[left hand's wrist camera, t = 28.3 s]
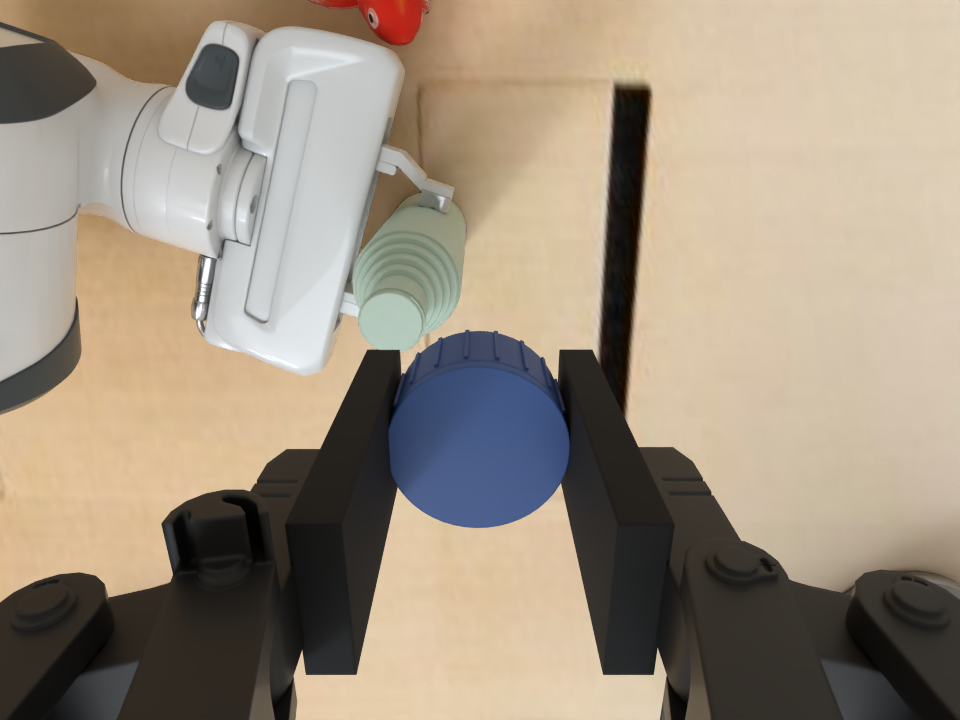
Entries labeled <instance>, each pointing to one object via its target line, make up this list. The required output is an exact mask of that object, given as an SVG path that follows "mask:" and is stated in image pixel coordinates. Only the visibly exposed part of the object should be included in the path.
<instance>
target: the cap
mask: <svg viewBox="0 0 960 720" xmlns="http://www.w3.org/2000/svg"><path fill="white" fill-rule="evenodd" d="M392 407H394V410H393V413H392V417H391V420H390V423H389V427H388V434H389V450H390V466H391V474H392V477H393V479H394V481H395V483H396V484H397V486H398V488H399V489H400V490H401V492H402V493H403V494H404V495H405V497H406V498H407V499H408V500H409V501H410V502H411V503H412V504H413V505H415V506H416V507H417V508H419V509H420V510H421V511H423V512H424V513H426V514H428V515H429V516H431V517H433V518H435V519H438V520H440V521H442V522H445V523H449V524H452V525H457V526H462V527H471V528H487V527H494V526H500V525H504V524H508V523H511V522H514V521H516V520H519V519H521V518H523V517H525V516H527V515H529V514H531V513H532V512H534V511H535V510H536V509H538V508H539V507H540V506H542V505H543V504H544V503H545V502H546V501H547V500H548V499H549V498H550V497H551V496H552V495H553V493H554V492H555V491H556V489H557V488H558V486H559V485H560V483H561V481H562V479H563V477H564V475H565V473H566V470H567V467H568V463H569V457H570V436H569V431H568V427H567V423H566V420H565V416H564V413H566V409H565V406H564V402H563V399H562V395H561V392H560V388H559V385H558V382H557V379H553V376H552V374H551V372H550V370H549V369H548V367H547V366H546V363H545V359H544V358H543V357H541V358H540V357H539V356H538V355H537V354H536V353H535V352H534V351H533V350H532V349H530V348H529V347H527V346H526V345H524V341H522V340H521V341H520V342H519V341H518V340H516V339H513V338H511V337H508V336H505V335H502V334H498V331H494V333H493V332H488V331H487V332H485V331H472V332H469V330H465V332H464V333H458V334H454V335H451V336H448V337H446V338H443V339H442V337H441V338H439V339H438V341H437V342H435V343H434V344H432V345H430V346H429V347H428V348H426V349H425V350H424V351H423V352H421V353H419V352H418V353H417V354H416V357H415V360H414V361H413V362H412V364H411V365H410V366H409V368H408V370H407V371H406V373H405V374H404V373H402V376H401V379H400V382H399V385H398V389H397V392H396V395H395V399H394V402H393V405H392Z"/></svg>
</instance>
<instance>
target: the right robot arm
mask: <svg viewBox="0 0 960 720" xmlns="http://www.w3.org/2000/svg"><path fill="white" fill-rule="evenodd" d="M404 77H405V68H404V66H403V65H402V63H401V61H400V59H399V57H398V56H397V54H396V53H395V52H394V51H393V50H391V49H389V48H386V47H384V46H381V45H378V44H375V43H372V42H369V41H365V40H362V39H358V38H355V37H351V36H347V35H343V34H338V33H334V32H329V31H324V30H319V29H313V28H306V27H298V26H285V27H279V28H276V29H273V30H271V31H269V32H268V33H265V32H264V31H262V30H260V29H258V28H256V27H253V26H251V25H248V24H245V23H241V22H236V21H229V20H221V21H214V22H212V23H211V24H210V25H209V26H208V28H207V29H206V31H205V32H204V34H203V36H202V38H201V40H200V42H199V44H198V46H197V48H196V51H195V53H194V55H193V57H192V59H191V61H190V63H189V65H188V67H187V69H186V71H185V73H184V74H183V76H182V78H181V80H180V82H179V84H178V86H177V87H174V86H171V85H166V84H159V83H143V82H138V81H134V80H131V79H129V78H127V77H125V76H123V75H121V74H120V73H118V72H117V71H115V70H114V69H112V68H111V67H109V66H108V65H106V64H104V63H102V62H100V61H97V60H95V59H92V58H89V57H86V56H83V55H80V54H77V53H74V52H71V51H68V50H66V49H64V48H63V47H62V46H61V45H59V44H58V43H57V42H56V41H53V40H51V39H48V38H45V37H42V36H40V35H37V34H34V33H31V32H28V31H25V30H22V29H19V28H16V27H13V26H10V25H7V24H4V23H1V22H0V415H1V414H4V413H7V412H10V411H13V410H15V409H18V408H20V407H22V406H25V405H27V404H29V403H31V402H33V401H34V400H36V399H38V398H40V397H42V396H43V395H45V394H46V393H48V392H49V391H51V390H52V389H53V388H54V387H56V386H57V385H58V384H59V383H61V382H62V381H63V380H64V379H66V378H67V377H68V376H69V375H70V374H71V372H72V371H73V370H74V368H75V367H76V365H77V364H78V362H79V359H80V356H81V338H80V325H79V311H78V301H77V297H76V269H77V235H78V214H92V215H98V216H102V217H105V218H108V219H110V220H112V221H114V222H116V223H117V224H119V225H120V226H122V227H123V228H125V229H127V230H128V231H130V232H133V233H135V234H137V235H140V236H144V237H147V238H150V239H154V240H157V241H160V242H163V243H166V244H170V245H173V246H176V247H179V248H182V249H185V250H189V251H192V252H195V253H198V254H200V255H199V260H198V268H197V275H196V292H195V297H194V298H193V300H192V305H191V316H192V318H193V319H195V320H196V323H197V327H198V330H199V332H200V333H201V335H202V336H203V337H204V339H205V340H206V341H207V342H208V343H210V344H212V345H214V346H217V347H221V348H224V349H227V350H231V351H235V352H244V353H246V354H248V355H250V356H252V357H254V358H257V359H259V360H261V361H263V362H266V363H268V364H271V365H273V366H276V367H278V368H281V369H283V370H286V371H289V372H292V373H295V374H298V375H302V376H308V375H311V374H314V373H317V372H320V371H322V370H323V369H324V368H325V366H326V365H327V363H328V362H329V360H330V358H331V356H332V354H333V351H334V347H335V343H336V340H337V336H338V332H339V328H340V324H341V320H342V316H343V313H345V314H348V315H351V316H355V317H358V314H359V308H358V306H357V304H356V301H355V298H354V294H353V284H352V283H351V282H352V276H353V269H354V266H355V262H356V260H357V258H358V255H359V251H360V247H361V243H362V239H363V235H364V232H365V228H366V224H367V220H368V216H369V212H370V208H371V205H372V201H373V197H374V193H375V189H376V185H377V182H378V178H379V174H380V172H383V173H386V174H389V175H392V176H393V175H395V174H396V173H397V172H399V170H400V169H401V170H402V171H403V172H404V173H405V175H406V176H407V177H408V178H409V179H410V180H411V181H412V182H413V183H414V184H415V185H416V186H417V187H418V189H419V190H420V191H422V193H421V197H420V200H419V204H418V205H420V206H423V207H426V208H432V207H433V208H434V209H435V210H436V211H438V212H441V213H446V214H447V212H448V209H449V206H450V202H451V199H452V196H453V193H454V189H455V188H454V187H452V186H450V185H447V184H444V183H441V182H438V181H435V180H432V179H429V178H427V174H426V173H425V172H424V171H423V170H422V169H421V168H420V167H419V165H418V164H417V163H416V162H415V161H414V160H413V159H412V157H411V156H410V155H409V154H408V153H407V152H406V151H405V150H402V149H400V148H397V147H394V146H391V145H388V144H387V143H388V139H389V135H390V131H391V128H392V124H393V120H394V116H395V112H396V108H397V104H398V101H399V97H400V93H401V89H402V85H403V81H404ZM205 320H206V326H205V327H204V324H203V321H205Z"/></svg>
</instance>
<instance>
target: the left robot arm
mask: <svg viewBox="0 0 960 720" xmlns="http://www.w3.org/2000/svg"><path fill="white" fill-rule="evenodd" d="M400 379H401V360H400V350H367V352H366V354H365V356H364V358H363V360H362V362H361V364H360V366H359V369H358V371H357V373H356V375H355V377H354V379H353V381H352V383H351V385H350V388H349V390H348V392H347V394H346V396H345V398H344V400H343V402H342V404H341V406H340V409H339V411H338V413H337V415H336V417H335V419H334V421H333V423H332V425H331V428H330V430H329V432H328V434H327V436H326V438H325V440H324V442H323V444H322V446H321V449H286V450H285V451H284V452H282V453H281V454H280V455H278V456H277V457H275V458H274V459H273V460H271V461H270V462H269V463H267V465H266V466H265V468H264V470H263V471H262V473H261V475H260V476H259V478H258V479H257V484H254V486H253V488H252V489H251V491H246V490H221V491H216V492H211V493H206V494H203V495H201V496H198V497H196V498H193V499H191V500H188V501H186V502H184V503H183V504H182V505H180V506H179V507H177V508H176V509H174V510H173V511H171V512H170V513H169V515H168V516H167V517H166V518H165V520H164V521H163V522H162V528H163V533H164V537H165V541H166V546H167V550H168V554H169V559H170V563H171V567H172V572H173V577H172V579H171V582H170V583H167V584H164V585H161V586H157V587H154V588H150V589H146V590H141V591H137V592H132V593H128V594H123V595H118V596H114V597H109V598H108V594H107V591H106V587H105V584H104V583H103V582H102V581H101V580H100V579H99V578H98V577H96V576H94V575H90V574H85V573H69V574H59V575H56V576H52V577H49V578H45V579H42V580H39V581H36V582H34V583H32V584H30V585H28V586H26V587H24V588H22V589H20V590H18V591H16V592H14V593H12V594H11V595H10V596H8V597H7V598H6V599H4V600H3V601H2V602H0V720H295V718H296V707H297V697H296V690H295V684H294V677H293V676H294V673H295V669H296V666H297V663H298V660H299V657H300V654H301V651H302V650H303V657H304V664H305V671H306V675H356V674H357V670H358V665H359V661H360V656H361V651H362V647H363V642H364V638H365V633H366V629H367V624H368V620H369V615H370V610H371V606H372V601H373V597H374V592H375V588H376V583H377V578H378V574H379V569H380V565H381V560H382V556H383V551H384V547H385V542H386V537H387V533H388V528H389V524H390V519H391V515H392V510H393V506H394V501H395V496H396V492H397V487H398V486H397V484H396V483H395V481H394V479H393V477H392V474H391V466H390V450H389V434H388V427H389V423H390V420H391V417H392V413H393V410H394V407H392V405H393V402H394V399H395V395H396V392H397V389H398V385H399V382H400ZM558 385H559V388H560V392H561V395H562V399H563V402H564V406H565V409H566V413H564V416H565V420H566V423H567V427H568V431H569V436H570V457H569V463H568V467H567V470H566V473H565V475H564V477H563V479H562V481H561V485H562V489H563V494H564V498H565V503H566V507H567V512H568V516H569V521H570V526H571V530H572V535H573V539H574V544H575V548H576V553H577V558H578V562H579V567H580V571H581V576H582V580H583V585H584V589H585V594H586V599H587V603H588V608H589V612H590V617H591V621H592V626H593V630H594V635H595V640H596V644H597V649H598V653H599V658H600V662H601V667H602V671H603V675H654V669H655V662H656V655H657V647H658V650H659V653H660V656H661V659H662V662H663V665H664V668H665V671H666V674H667V677H666V684H665V690H664V697H663V703H662V710H661V717H660V720H960V585H959V584H957V583H956V582H954V581H952V580H950V579H948V578H946V577H943V576H940V575H937V574H933V573H927V572H899V571H888V570H877V571H872V572H867V573H864V574H863V575H862V576H861V577H860V578H859V579H858V580H856V582H855V585H854V588H853V589H851V590H849V591H848V592H846V593H845V594H844V593H839V592H835V591H830V590H826V589H821V588H817V587H812V586H808V585H805V584H801V583H798V582H794V581H791V580H789V578H788V576H787V574H786V572H785V571H784V569H783V568H782V566H781V565H780V563H779V562H778V561H777V560H776V559H775V558H773V557H772V556H771V555H769V554H768V553H767V552H766V551H764V550H763V549H760V548H758V547H756V546H754V545H752V544H749V543H747V542H745V541H741V540H740V538H739V537H738V535H737V533H736V532H735V530H734V528H733V527H732V525H731V523H730V522H729V520H728V519H727V517H726V515H725V514H724V512H723V510H722V509H721V507H720V505H719V504H718V502H717V501H716V499H715V497H714V496H712V495H711V491H710V489H709V487H708V486H707V484H706V483H705V481H703V478H702V476H701V474H700V473H699V471H698V469H697V468H696V466H695V465H694V463H693V461H691V460H690V459H688V458H687V457H686V456H684V455H683V454H682V453H680V452H679V451H677V450H676V449H675V448H673V447H638V445H637V443H636V441H635V439H634V437H633V435H632V433H631V431H630V428H629V426H628V424H627V422H626V420H625V418H624V416H623V414H622V412H621V409H620V407H619V405H618V403H617V401H616V399H615V397H614V395H613V393H612V391H611V388H610V386H609V384H608V382H607V380H606V378H605V376H604V374H603V372H602V369H601V367H600V365H599V363H598V361H597V359H596V357H595V355H594V353H593V350H560V352H559V371H558Z"/></svg>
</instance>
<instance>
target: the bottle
mask: <svg viewBox="0 0 960 720" xmlns="http://www.w3.org/2000/svg"><path fill="white" fill-rule="evenodd" d="M420 197H421V193H417V194H414V195H412V196H410V197H408V198H407V199H405V200H404V201H403V202H402V203H401V204H400V205H399V206H398V207H397V209H396V210H395V211H394V212H393V214H392V215H391V216H390V217H389V218H388V220H387V221H386V222H385V223H384V224H383V226H382V227H381V228H380V229H379V230H378V232H377V233H376V234H375V235H374V236H373V238H372V239H371V240H370V241H369V242H368V244H367V245H366V246H365V247H364V248H363V250H362V251H361V253H360V254H359V256H358V258H357V260H356V262H355V266H354V269H353V276H352V284H353V294H354V298H355V301H356V304H357V306H358V308H359V314H358V325H359V328H360V331H361V333H362V335H363V336H364V338H365V339H366V341H367V342H368V343H369V344H371V345H372V346H373V347H375V348H377V349H379V350H400V352H403V351H406V350H408V349H410V348H412V347H414V346H415V345H416V344H417V343H418V342H419V340H420V339H421V337H422V335H425V334H427V333H430V332H432V331H433V330H435V329H437V328H438V327H439V326H441V325H442V324H443V323H444V322H445V321H446V320H447V319H448V318H449V317H450V316H451V314H452V313H453V311H454V310H455V308H456V306H457V303H458V301H459V298H460V293H461V284H462V273H463V263H464V252H465V242H466V223H465V219H464V216H463V214H462V212H461V211H460V209H459V208H458V206H457V205H456V204H455V203H454V202H453V201H452V200H451V202H450V206H449V209H448V212H447V214H446V213H441V212H438V211H436V210H435V209H434V208H433V207H432V208H426V207H423V206H420V205H418V204H419V200H420Z"/></svg>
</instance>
